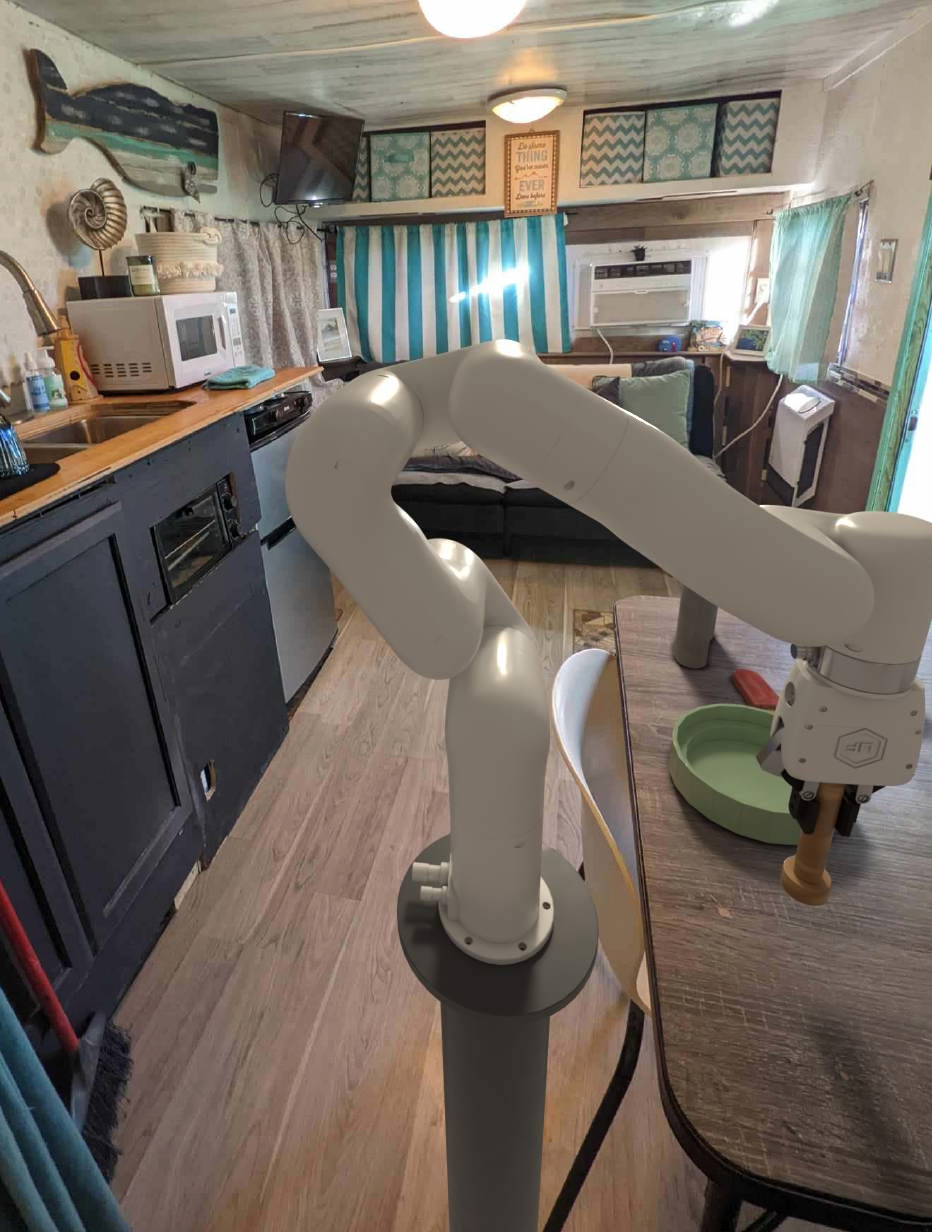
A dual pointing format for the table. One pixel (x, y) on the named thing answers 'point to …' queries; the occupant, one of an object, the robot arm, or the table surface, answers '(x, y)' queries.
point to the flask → (694, 629)
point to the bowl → (732, 772)
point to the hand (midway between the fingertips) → (819, 822)
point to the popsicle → (755, 690)
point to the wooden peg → (814, 851)
